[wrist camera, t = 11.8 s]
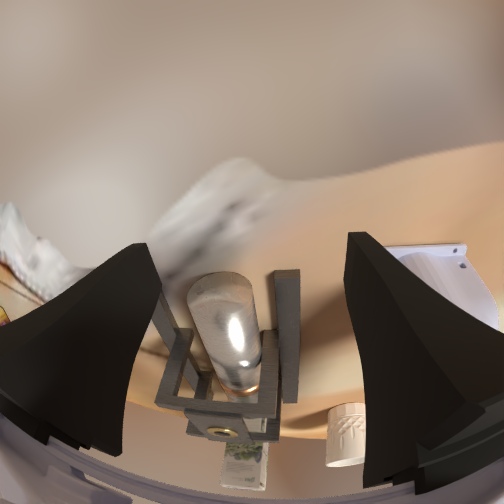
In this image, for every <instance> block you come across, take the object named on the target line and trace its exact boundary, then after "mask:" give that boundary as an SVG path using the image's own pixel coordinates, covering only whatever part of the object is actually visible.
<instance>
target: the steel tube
mask: <svg viewBox="0 0 504 504" xmlns="http://www.w3.org/2000/svg"><path fill="white" fill-rule="evenodd" d="M187 304H188V307H189V309H190V312H191V314H192V317H193V319H194V322H195V324H196V327H197V329H198V332H199V334H200V337H201V339H202V342H203V344H204V346H205V349H206V351H207V353H208V356H209V358H210V360H211V363H212V365H213V367H214V369H215V372H216V374H217V377H218V380H219V383H220V385H221V387H222V388H223V389H224V391H225V393H226V395H227V397H228V399H229V401H230V402H235V403H257V402H258V391H259V381H260V370H261V358H262V346H261V340H260V334H259V328H258V322H257V315H256V309H255V303H254V297H253V291H252V285H251V283H250V282H249V280H248V279H247V278H245V277H244V276H242V275H240V274H237V273H233V272H218V273H214V274H210V275H207V276H205V277H203V278H201V279H200V280H198V281H197V282H196V283H195V284H194V285H193V286H192V287H191V288H190V290H189V291H188V294H187ZM243 418H245V417H243ZM245 419H256V418H245Z"/></svg>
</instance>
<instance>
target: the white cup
mask: <svg viewBox="0 0 504 504" xmlns="http://www.w3.org/2000/svg"><path fill="white" fill-rule="evenodd" d="M365 441H366V414H365V404H364V403H360V402H353V403H345V404H342V405H338V406H336V407H334V408H332V409H330V411H329V412H328V428H327V448H326V466H329V467H340V466H349V465H355V464H360V463H364V459H365Z"/></svg>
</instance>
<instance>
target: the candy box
mask: <svg viewBox="0 0 504 504" xmlns="http://www.w3.org/2000/svg"><path fill="white" fill-rule="evenodd" d="M7 323H10V321H9V319H8V317H7V315H6V313H5V312H4V310H3V308H1V307H0V326H3V325H5V324H7Z"/></svg>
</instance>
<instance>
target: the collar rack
mask: <svg viewBox="0 0 504 504" xmlns="http://www.w3.org/2000/svg"><path fill="white" fill-rule="evenodd" d="M274 283H275V295H276V307H277V320H278V330H264V335H263V347H262V358H261V370H260V381H259V391H258V402H257V403H235V402H221V401H210V400H212V399H213V393H212V391H211V390H210V388H211V383H212V378H213V374H212V372H207V371H200V369H199V368H198V366H197V364H196V362H195V360H194V358H193V356H192V354H191V352H190V348H191V344H192V341H193V338H194V333H193V330H192V329H187V328H179V327H178V325H177V323H176V321H175V319H174V317H173V314H172V312H171V310H170V308H169V305H168V303H167V301H166V299H165V296H164V294H163V292H162V289H161V291H160V295H159V298H158V302H157V305H156V308H155V311H154V313H153V316H152V318H151V319H152V321H153V323H154V325H155V327H156V328H157V330H158V332H159V334H160V336H161V337H162V339H163V341H164V343H165V344H166V346H167V348H168V350H169V351H170V355H169V358H168V361H167V364H166V368H165V371H164V374H163V377H162V380H161V383H160V386H159V389H158V393H157V396H156V399H155V402H154V403H155V404H156V405H157V406H158V407H162V408H168V409H173V410H179V411H184V414H185V416H186V417H187V418H188V419H189V422H188V426H187V430H186V433H187V434H188V435H191V436H198V437H205V438H208V439H209V440H212V441H220V442H230V443H242V444H254V442H263V443H279V437H280V419H281V398H282V392H283V403H297V397H298V377H299V349H300V269H299V270H275V271H274ZM279 346H280V361H281V374H278V365H279ZM183 374H184V376H185V378H186V379H187V381H188V382H189V384H190V385H191V387H192V388H193V390H194V391H195V395H194V399H192V398H184V397H177V394H178V391H179V387H180V383H181V380H182V376H183ZM243 417H245V418H267V421H266V433H261V432H249V430H248V428H247V426H246V424H245V422H244V419H243Z"/></svg>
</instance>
